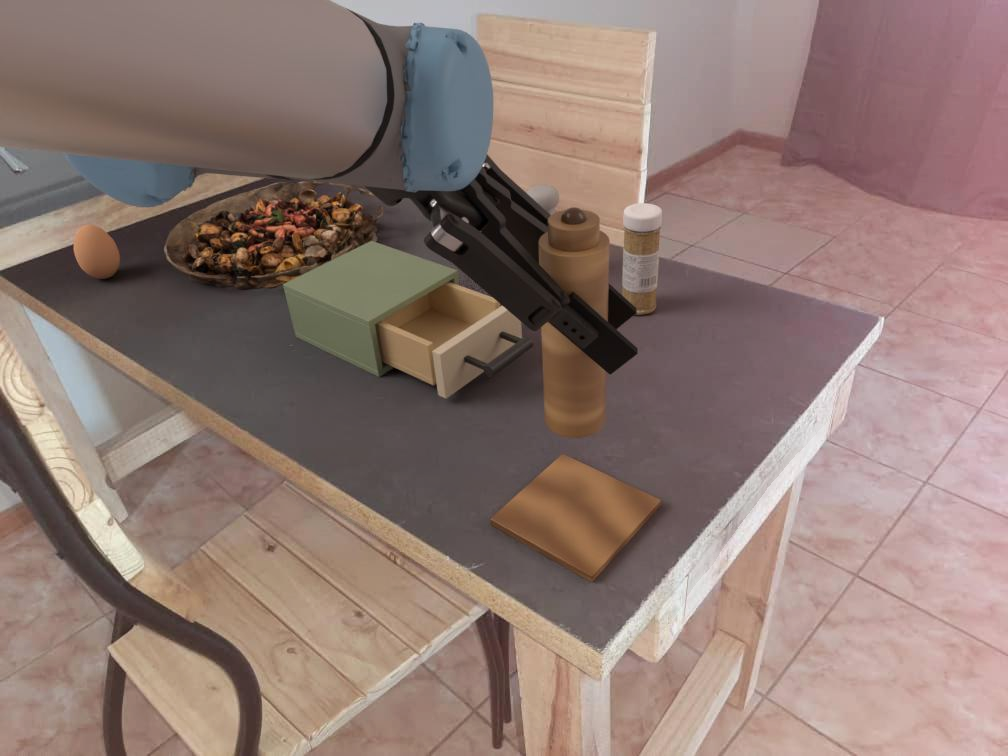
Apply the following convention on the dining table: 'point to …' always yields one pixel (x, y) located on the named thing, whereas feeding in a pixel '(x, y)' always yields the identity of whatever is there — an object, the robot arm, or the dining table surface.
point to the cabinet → (359, 300)
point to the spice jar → (641, 255)
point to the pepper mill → (566, 369)
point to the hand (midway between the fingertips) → (623, 340)
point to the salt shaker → (545, 197)
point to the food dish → (268, 235)
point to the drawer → (451, 338)
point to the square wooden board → (576, 516)
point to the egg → (96, 252)
